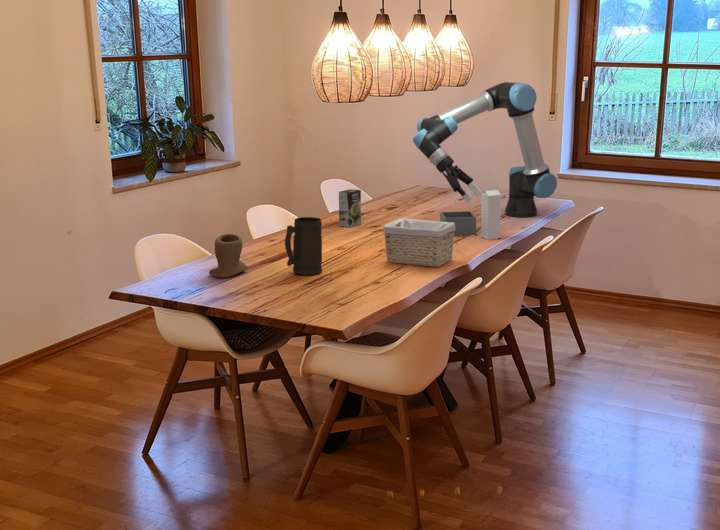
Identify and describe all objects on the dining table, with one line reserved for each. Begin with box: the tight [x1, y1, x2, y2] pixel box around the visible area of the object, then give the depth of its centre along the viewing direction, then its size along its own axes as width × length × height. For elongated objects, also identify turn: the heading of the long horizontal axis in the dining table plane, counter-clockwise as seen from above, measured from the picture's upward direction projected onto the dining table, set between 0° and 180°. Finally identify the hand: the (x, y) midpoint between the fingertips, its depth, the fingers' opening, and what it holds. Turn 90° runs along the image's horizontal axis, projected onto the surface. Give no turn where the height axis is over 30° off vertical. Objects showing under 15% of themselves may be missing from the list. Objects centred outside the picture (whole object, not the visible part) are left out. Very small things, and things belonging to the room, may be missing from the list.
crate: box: [439, 210, 477, 237], centre depth 372 cm, size 14×14×8 cm
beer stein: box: [284, 216, 323, 276], centre depth 310 cm, size 15×11×20 cm
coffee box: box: [338, 188, 362, 228], centre depth 390 cm, size 9×6×16 cm
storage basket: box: [382, 217, 455, 268], centre depth 325 cm, size 24×16×15 cm
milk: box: [480, 185, 502, 240], centre depth 359 cm, size 6×6×22 cm
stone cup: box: [208, 233, 249, 278], centre depth 312 cm, size 15×12×15 cm
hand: (475, 197), depth 359 cm, fingers open, 13 cm apart
